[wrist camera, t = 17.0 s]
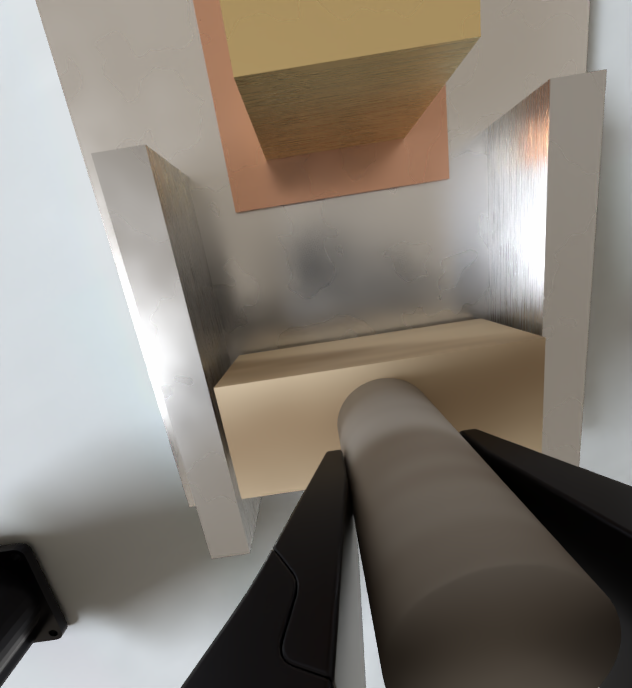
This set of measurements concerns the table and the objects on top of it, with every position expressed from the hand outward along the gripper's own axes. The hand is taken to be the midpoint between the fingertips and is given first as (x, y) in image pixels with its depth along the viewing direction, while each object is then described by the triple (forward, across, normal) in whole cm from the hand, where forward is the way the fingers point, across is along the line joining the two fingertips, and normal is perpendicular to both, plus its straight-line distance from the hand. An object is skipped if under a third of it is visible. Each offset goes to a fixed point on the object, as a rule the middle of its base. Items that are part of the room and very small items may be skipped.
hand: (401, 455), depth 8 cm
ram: (+5, 0, 0) cm, 5 cm away
